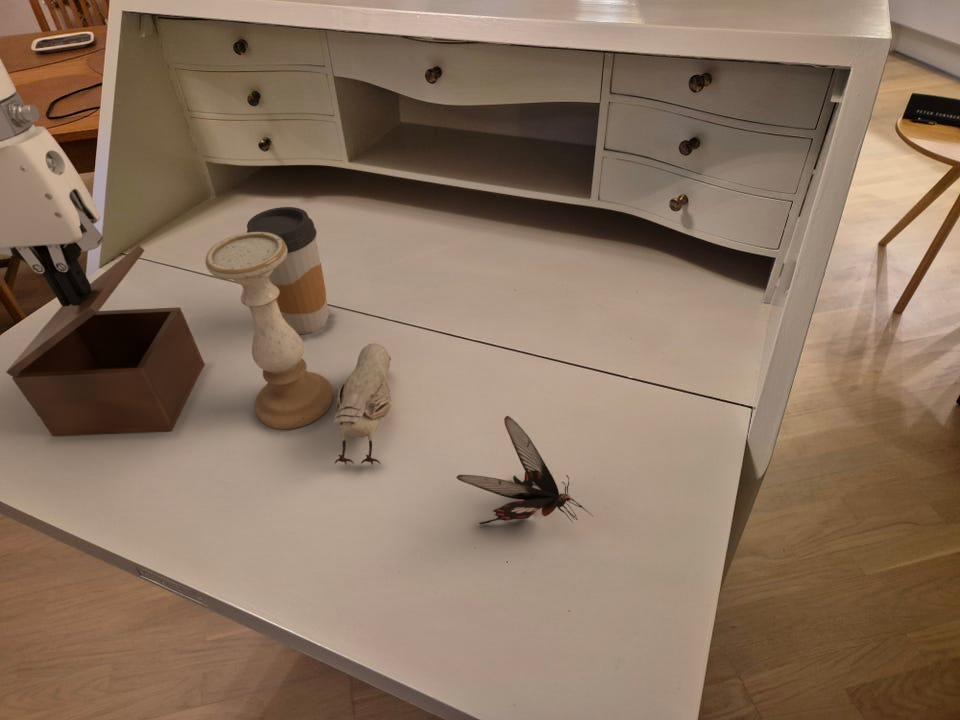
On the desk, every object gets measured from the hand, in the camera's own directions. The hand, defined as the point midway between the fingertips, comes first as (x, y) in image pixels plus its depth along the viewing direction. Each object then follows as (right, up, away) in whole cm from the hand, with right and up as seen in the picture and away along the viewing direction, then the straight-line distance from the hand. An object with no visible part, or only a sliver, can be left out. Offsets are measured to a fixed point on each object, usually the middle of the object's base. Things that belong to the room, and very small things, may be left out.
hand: (77, 298), depth 66 cm
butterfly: (+46, -22, -7) cm, 51 cm away
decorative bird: (+30, -13, +5) cm, 33 cm away
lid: (0, -1, +1) cm, 2 cm away
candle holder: (+21, -12, +7) cm, 25 cm away
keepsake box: (+1, -11, +9) cm, 15 cm away
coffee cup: (+19, -1, +20) cm, 27 cm away
